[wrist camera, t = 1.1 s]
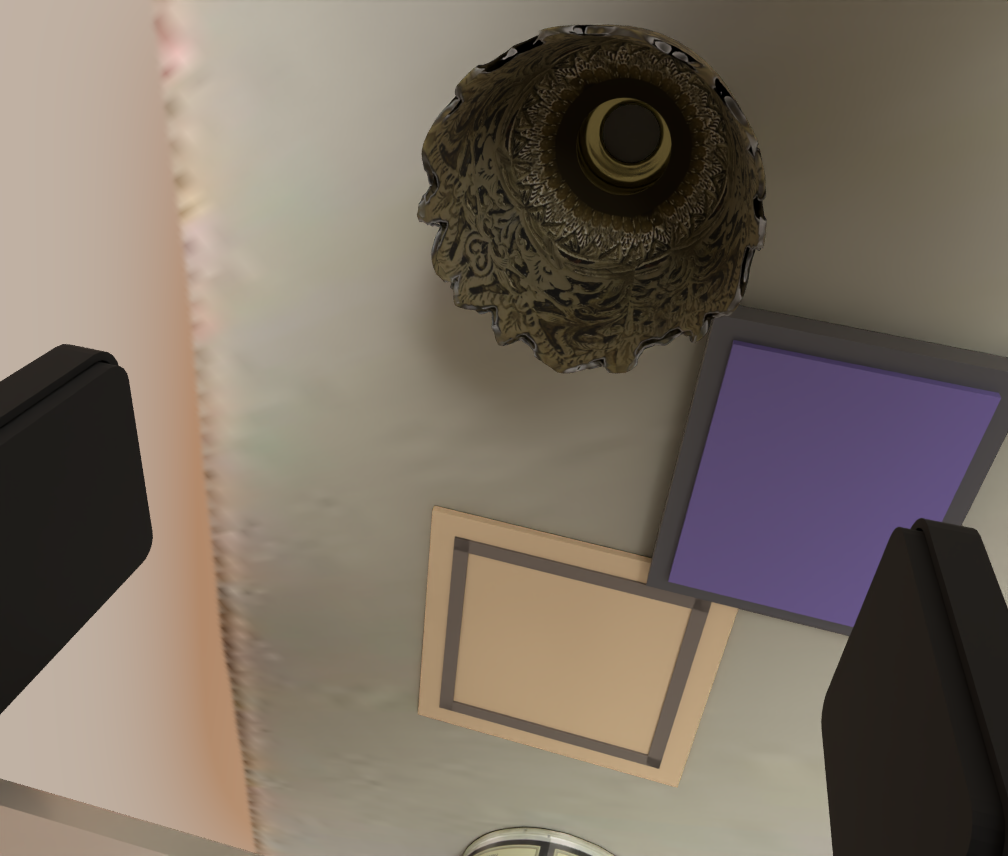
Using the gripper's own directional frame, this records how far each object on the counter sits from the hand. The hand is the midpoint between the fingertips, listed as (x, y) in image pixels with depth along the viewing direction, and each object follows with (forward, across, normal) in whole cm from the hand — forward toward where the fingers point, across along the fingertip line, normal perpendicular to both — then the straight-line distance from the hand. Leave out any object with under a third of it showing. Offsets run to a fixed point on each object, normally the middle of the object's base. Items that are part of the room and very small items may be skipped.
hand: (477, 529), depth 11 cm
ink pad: (+18, -8, +9) cm, 21 cm away
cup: (+18, 0, -1) cm, 18 cm away
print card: (+18, 0, +20) cm, 27 cm away
